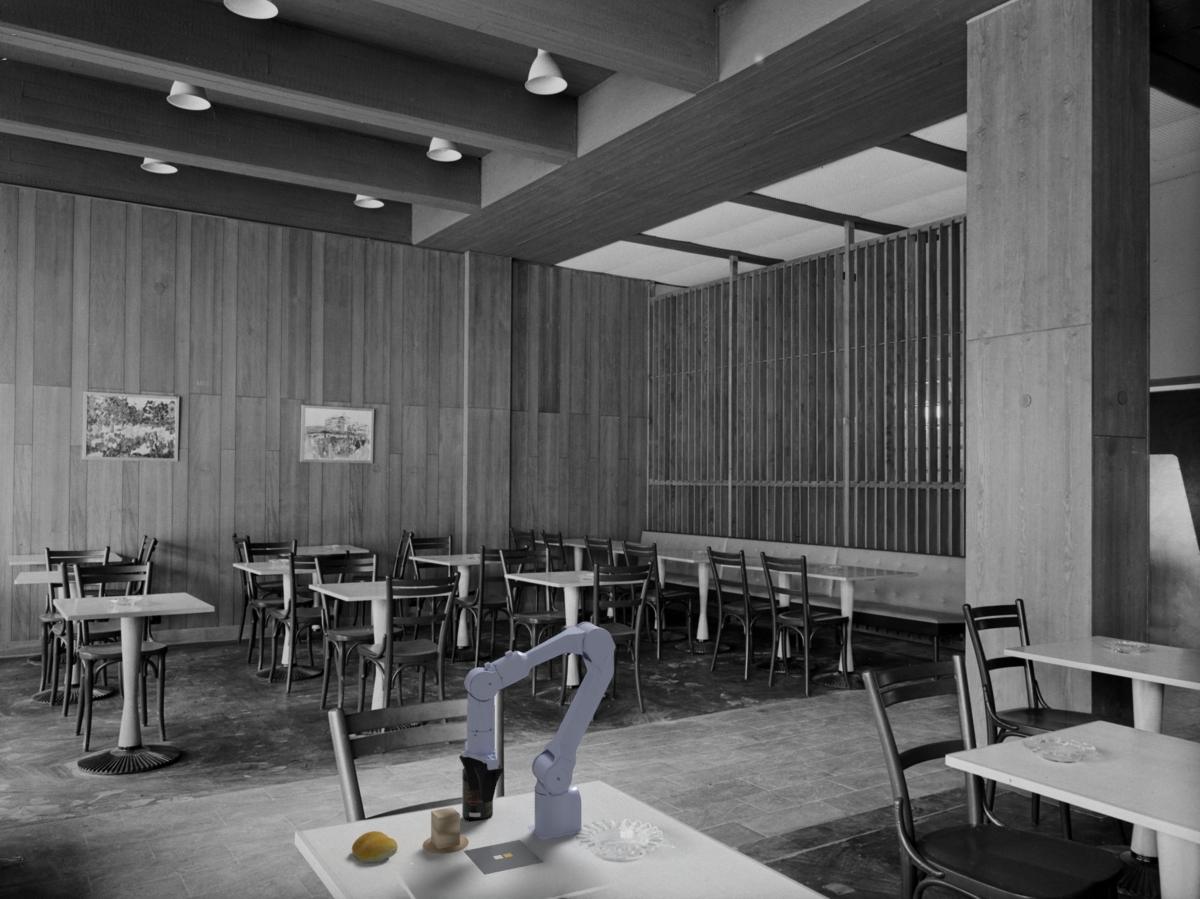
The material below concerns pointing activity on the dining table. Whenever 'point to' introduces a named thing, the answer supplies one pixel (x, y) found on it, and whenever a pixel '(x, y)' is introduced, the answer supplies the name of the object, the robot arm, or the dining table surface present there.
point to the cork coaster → (432, 848)
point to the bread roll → (374, 847)
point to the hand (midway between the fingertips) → (480, 795)
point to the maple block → (445, 827)
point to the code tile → (503, 856)
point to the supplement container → (474, 803)
